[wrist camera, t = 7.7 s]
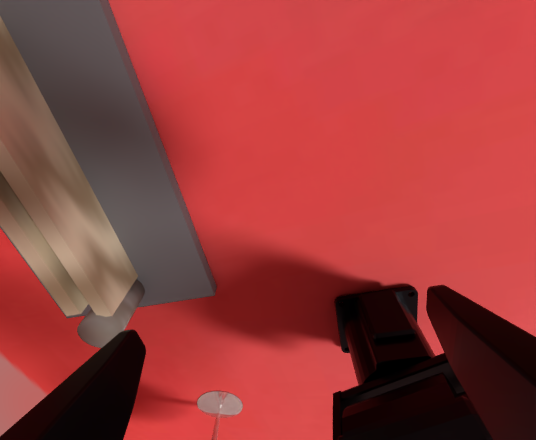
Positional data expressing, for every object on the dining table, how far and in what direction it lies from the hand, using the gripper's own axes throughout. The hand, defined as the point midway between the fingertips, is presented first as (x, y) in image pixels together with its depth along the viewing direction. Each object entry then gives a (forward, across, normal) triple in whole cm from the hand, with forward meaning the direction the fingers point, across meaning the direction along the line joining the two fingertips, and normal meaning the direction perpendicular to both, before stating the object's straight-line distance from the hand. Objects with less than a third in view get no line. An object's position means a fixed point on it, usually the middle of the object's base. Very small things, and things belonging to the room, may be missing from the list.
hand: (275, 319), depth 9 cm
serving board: (+12, +13, -3) cm, 18 cm away
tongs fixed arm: (+11, +13, -3) cm, 17 cm away
